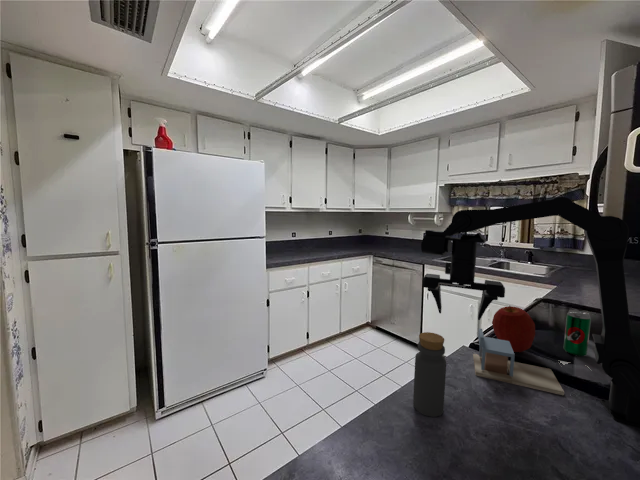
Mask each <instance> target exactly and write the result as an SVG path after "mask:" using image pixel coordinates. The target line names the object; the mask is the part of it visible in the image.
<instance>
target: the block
mask: <svg viewBox="0 0 640 480" xmlns="http://www.w3.org/2000/svg"><path fill="white" fill-rule="evenodd" d="M508 361H509V357H508V356H503V355H498V354H492V353H487V352H485V365H484V368H485V370H487V371H491V372H496V373H501V374H505V375H507V363H508Z"/></svg>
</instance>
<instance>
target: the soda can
mask: <svg viewBox="0 0 640 480" xmlns="http://www.w3.org/2000/svg"><path fill="white" fill-rule="evenodd" d="M590 314H591V313H588V312H586V311H582V310H577V309H569V310H568V312H567V313H566V317H565V318H566V319H565V329H564V339H563V350H564V351H565V353H567V352H568V353H567V354H569V353H570V354H569V355H572V354H573V355H572V356H575V355H577V356H576V357H585V356H587V355H588V350H589V349H588V348H589V339H590V333H591V332H590V331H591V323H592V317H591V316H590Z"/></svg>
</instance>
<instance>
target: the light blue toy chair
mask: <svg viewBox="0 0 640 480" xmlns="http://www.w3.org/2000/svg"><path fill="white" fill-rule="evenodd" d="M477 334H478V336H477V339H478V344H479V348H478V349H479V352H478V355H479V357H482V364H481V370H484V365H485V352H487V353H492V354H498V355H503V356H508V358H510V361H511V362H510V374H509V375H510V376H512V377H513V369H514V362H515V356H516V355H515V354H516V353H514V352H513V349H512V347H511V344H510V342H509V341H506V340H500V339H498V338H493V337H489V336H484V332H483V328H478V332H477Z"/></svg>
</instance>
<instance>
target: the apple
mask: <svg viewBox="0 0 640 480" xmlns="http://www.w3.org/2000/svg"><path fill="white" fill-rule="evenodd" d="M491 324H492V328H493V333H494V335H495V337H496V339H500V340H506V341H509V342H510V344H511V347H512V349H513V352H519V353H523V352H525V351H527V350H529V349H531V347H532V345H533V342H534V339H535V338H536V324H535V322H534V320H533V319H532V317H531V315H530V314H529V313H528V312H526V311H525V310H524V309H523V308H520V307H517V306H511V305H509V306H504V307H501V308H499V309H498V310H497V311H496V312H495V313H494V314H493V317H492V321H491Z"/></svg>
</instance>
